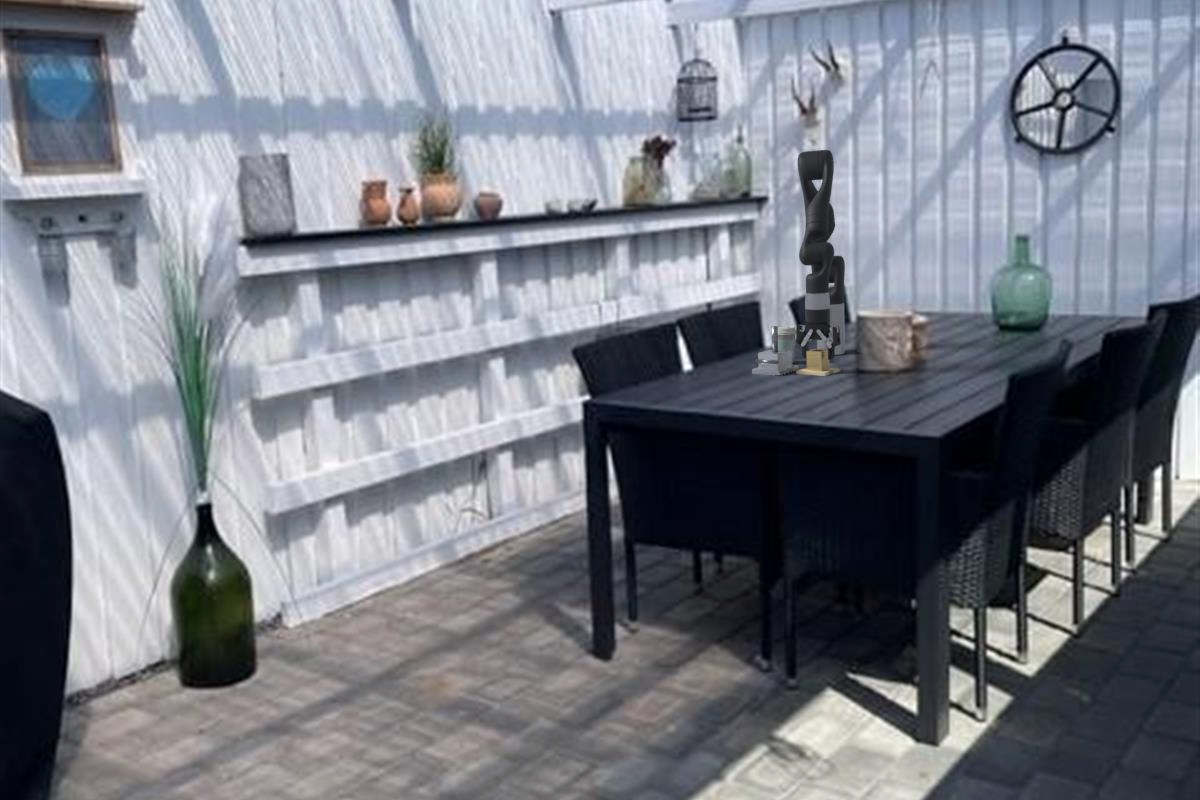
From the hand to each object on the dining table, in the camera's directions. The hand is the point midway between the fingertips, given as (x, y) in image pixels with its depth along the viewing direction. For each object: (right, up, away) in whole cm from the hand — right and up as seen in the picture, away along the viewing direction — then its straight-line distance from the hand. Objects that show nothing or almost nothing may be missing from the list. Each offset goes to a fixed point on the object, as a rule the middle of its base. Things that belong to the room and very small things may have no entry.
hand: (818, 358), depth 401 cm
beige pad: (0, -4, +1) cm, 4 cm away
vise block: (-13, -4, +5) cm, 14 cm away
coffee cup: (-8, -1, +22) cm, 23 cm away
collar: (0, -3, 0) cm, 3 cm away
